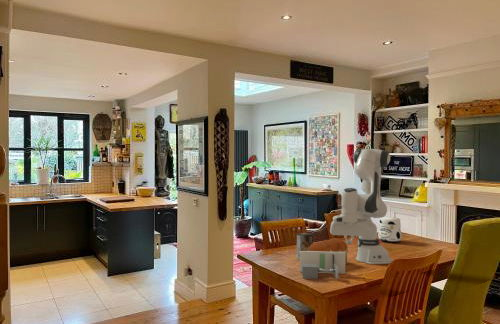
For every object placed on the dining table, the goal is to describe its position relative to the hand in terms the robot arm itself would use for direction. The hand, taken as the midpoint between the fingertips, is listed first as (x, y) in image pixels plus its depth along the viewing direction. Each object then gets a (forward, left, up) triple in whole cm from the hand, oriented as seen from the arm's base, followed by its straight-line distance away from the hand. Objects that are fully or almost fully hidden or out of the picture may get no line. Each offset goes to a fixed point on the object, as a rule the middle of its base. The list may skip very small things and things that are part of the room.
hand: (348, 243), depth 202 cm
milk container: (-50, -96, -19) cm, 110 cm away
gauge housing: (+13, -4, -19) cm, 23 cm away
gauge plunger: (+12, -2, -18) cm, 22 cm away
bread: (+8, -26, -20) cm, 34 cm away
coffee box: (+21, -38, -19) cm, 48 cm away
